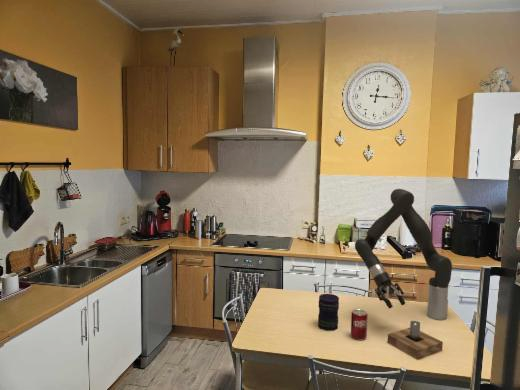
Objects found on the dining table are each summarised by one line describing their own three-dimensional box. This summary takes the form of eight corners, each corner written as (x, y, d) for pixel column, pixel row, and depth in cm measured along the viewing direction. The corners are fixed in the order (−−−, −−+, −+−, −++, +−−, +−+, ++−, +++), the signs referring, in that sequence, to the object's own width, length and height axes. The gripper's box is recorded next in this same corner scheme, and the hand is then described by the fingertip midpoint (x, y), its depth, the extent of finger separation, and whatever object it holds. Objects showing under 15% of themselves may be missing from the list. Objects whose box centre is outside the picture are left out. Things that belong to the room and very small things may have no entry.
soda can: (348, 333, 172) (349, 309, 171) (363, 333, 172) (364, 308, 171) (353, 340, 164) (354, 315, 163) (369, 340, 165) (370, 315, 164)
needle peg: (413, 343, 163) (414, 320, 162) (420, 347, 160) (422, 323, 159) (407, 345, 161) (408, 321, 160) (414, 349, 158) (416, 325, 157)
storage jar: (341, 326, 179) (343, 297, 177) (331, 333, 172) (332, 302, 170) (324, 320, 186) (325, 292, 184) (313, 326, 178) (314, 297, 177)
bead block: (411, 334, 171) (411, 326, 171) (442, 350, 157) (442, 341, 157) (387, 342, 163) (387, 334, 163) (417, 359, 149) (418, 350, 149)
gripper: (373, 273, 171) (391, 305, 162) (394, 269, 178) (412, 300, 169) (364, 281, 176) (382, 312, 167) (385, 276, 183) (403, 306, 174)
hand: (397, 306), depth 168 cm, fingers open, 8 cm apart
